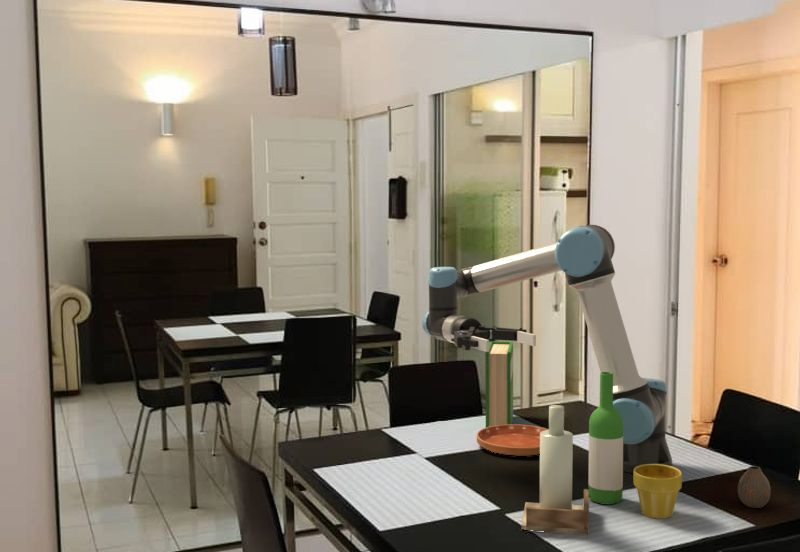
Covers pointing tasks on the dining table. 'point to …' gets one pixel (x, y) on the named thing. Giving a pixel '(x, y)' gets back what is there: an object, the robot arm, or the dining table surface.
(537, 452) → the saucer
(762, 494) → the vase
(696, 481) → the dining table surface
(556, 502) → the bottle
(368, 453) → the dining table surface
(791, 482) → the dining table surface
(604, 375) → the wine bottle
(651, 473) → the plant pot
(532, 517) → the dock
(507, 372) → the hardback book
